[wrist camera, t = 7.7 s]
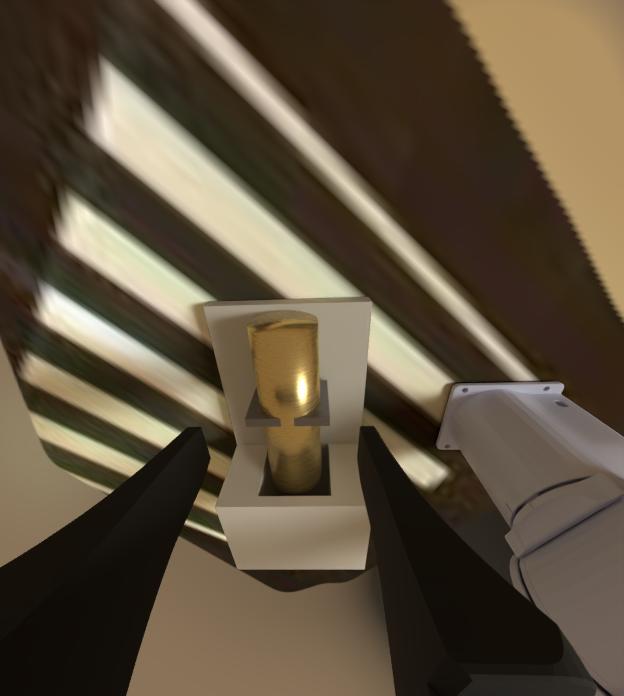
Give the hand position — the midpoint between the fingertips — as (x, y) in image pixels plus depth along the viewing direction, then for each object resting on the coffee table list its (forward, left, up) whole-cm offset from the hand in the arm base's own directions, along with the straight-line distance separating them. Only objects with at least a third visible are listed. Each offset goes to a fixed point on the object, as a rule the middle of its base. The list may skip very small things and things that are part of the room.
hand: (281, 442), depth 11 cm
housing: (0, +8, -10) cm, 13 cm away
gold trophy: (0, +3, -8) cm, 9 cm away
